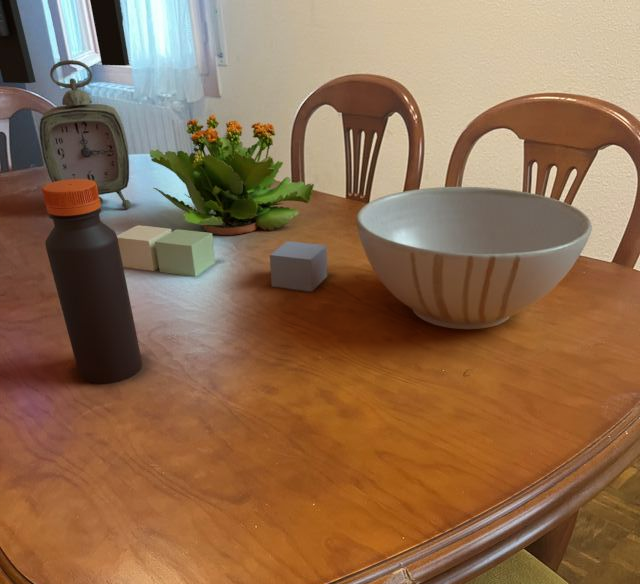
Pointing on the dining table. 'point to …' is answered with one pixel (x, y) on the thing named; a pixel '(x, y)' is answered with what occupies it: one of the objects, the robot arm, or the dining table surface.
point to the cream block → (141, 246)
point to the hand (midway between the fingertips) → (72, 73)
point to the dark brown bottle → (91, 283)
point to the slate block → (298, 266)
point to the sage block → (185, 252)
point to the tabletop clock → (85, 140)
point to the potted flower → (232, 181)
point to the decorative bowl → (470, 250)
